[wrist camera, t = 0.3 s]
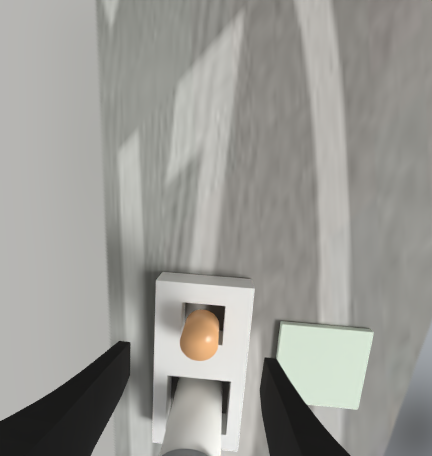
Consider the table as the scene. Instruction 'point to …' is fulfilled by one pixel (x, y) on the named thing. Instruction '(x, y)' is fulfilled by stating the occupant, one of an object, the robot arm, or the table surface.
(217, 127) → the table surface
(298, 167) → the table surface
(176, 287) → the housing
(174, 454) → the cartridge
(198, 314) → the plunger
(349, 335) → the mat
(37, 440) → the robot arm
